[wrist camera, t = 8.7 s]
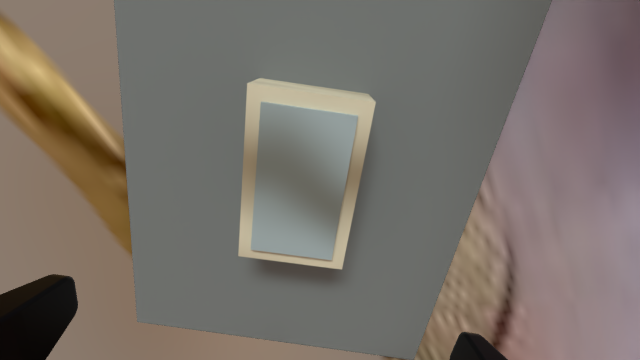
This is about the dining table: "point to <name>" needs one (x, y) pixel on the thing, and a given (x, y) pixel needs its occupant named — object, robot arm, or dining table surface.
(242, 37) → the grey rectangular board
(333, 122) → the framed mirror
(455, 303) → the dining table surface
